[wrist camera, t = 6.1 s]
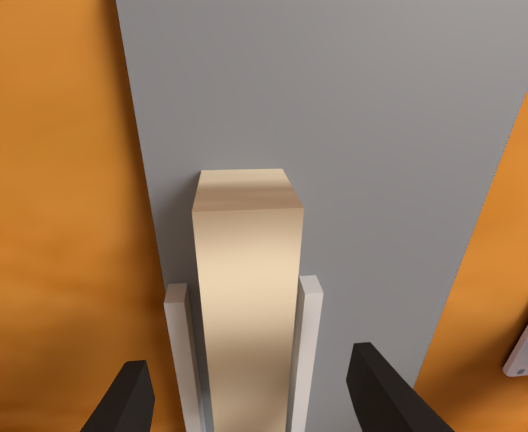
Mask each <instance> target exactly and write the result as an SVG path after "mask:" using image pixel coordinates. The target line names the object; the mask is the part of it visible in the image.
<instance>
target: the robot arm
mask: <svg viewBox="0 0 528 432" xmlns="http://www.w3.org/2000/svg"><path fill="white" fill-rule="evenodd" d="M503 372H504V373H505V374H506V375H507V376H508V377H515V376H524V375H528V325H527V327H526V329H525V330H524V332H523V334H522V336H521V337H520V339H519V341H518V343H517V344H516V346H515V348H514V350H513V351H512V353H511V355H510V357H509V358H508V360H507V362H506V364H505V365H504V367H503ZM346 383H347V387H348V390H349V394H350V398H351V401H352V404H353V408H354V411H355V414H356V417H357V419H358V422H359V424H360V427H361V429H362V432H455V431H454V430H453V429H452V428H451V427H450V426H449V425H448V424H446V423H445V422H444V421H443V420H442V419H441V418H440V417H439V416H438V415H437V414H436V413H435V412H434V411H433V410H432V409H431V408H430V407H429V406H428V405H427V403H426V402H425V401H424V400H423V399H422V398H421V397H420V396H419V395H418V394H417V393H416V392H415V391H414V390H413V389H412V388H411V387H410V386H409V385H408V383H407V382H406V381H405V380H404V379H403V378H402V377H401V376H400V375H399V374H398V372H397V371H396V370H395V369H394V368H393V367H392V366H391V365H390V363H389V362H388V361H387V360H386V359H385V358H384V357H383V356H382V354H381V353H380V352H379V351H378V350H377V349H376V348H375V346H374V345H373V344H372V343H371V342H362V343H354V344H353V349H352V354H351V358H350V363H349V368H348V372H347V377H346ZM154 402H155V396H154V392H153V387H152V383H151V379H150V375H149V371H148V366H147V362H146V360H140V361H128V362H126V363H125V364H124V365H123V367H122V368H121V370H120V372H119V373H118V375H117V377H116V378H115V380H114V381H113V383H112V385H111V386H110V388H109V389H108V391H107V392H106V394H105V395H104V397H103V398H102V400H101V401H100V403H99V404H98V406H97V408H96V409H95V410H94V412H93V413H92V415H91V416H90V418H89V419H88V421H87V422H86V423H85V425H84V426H83V428H82V429H81V431H80V432H150V428H151V422H152V416H153V409H154Z"/></svg>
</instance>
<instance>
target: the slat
mask: <svg viewBox="0 0 528 432" xmlns="http://www.w3.org/2000/svg"><path fill="white" fill-rule="evenodd" d="M303 216H304V207H303V205H302V203H301V201H300V200H299V198H298V196H297V194H296V192H295V191H294V189H293V187H292V185H291V183H290V182H289V180H288V178H287V176H286V174H285V173H284V171H283V169H240V170H201V174H200V179H199V183H198V187H197V191H196V196H195V200H194V204H193V209H192V219H193V229H194V238H195V248H196V258H197V267H198V277H199V287H200V296H201V306H202V316H203V325H204V335H205V345H206V354H207V364H208V374H209V383H210V393H211V403H212V412H213V422H214V432H285V428H286V416H287V404H288V393H289V381H290V369H291V357H292V345H293V334H294V322H295V310H296V298H297V286H298V275H299V263H300V251H301V239H302V227H303Z"/></svg>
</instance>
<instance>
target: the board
mask: <svg viewBox="0 0 528 432" xmlns="http://www.w3.org/2000/svg"><path fill="white" fill-rule="evenodd" d="M116 5H117V11H118V17H119V23H120V28H121V34H122V40H123V46H124V52H125V58H126V64H127V70H128V76H129V81H130V87H131V93H132V99H133V105H134V111H135V117H136V123H137V129H138V134H139V140H140V146H141V152H142V158H143V164H144V170H145V176H146V182H147V187H148V193H149V199H150V205H151V211H152V217H153V223H154V229H155V234H156V240H157V246H158V252H159V258H160V264H161V270H162V276H163V282H164V287H165V293H166V296H165V300H164V309H165V314H166V320H167V326H168V331H169V337H170V343H171V348H172V354H173V359H174V365H175V371H176V376H177V382H178V388H179V393H180V399H181V405H182V410H183V416H184V422H185V427H186V432H214V422H213V412H212V403H211V393H210V383H209V374H208V364H207V354H206V345H205V335H204V325H203V316H202V306H201V296H200V287H199V277H198V267H197V258H196V248H195V238H194V229H193V219H192V209H193V204H194V200H195V196H196V191H197V187H198V183H199V179H200V174H201V170H240V169H283V171H284V173H285V174H286V176H287V178H288V180H289V182H290V183H291V185H292V187H293V189H294V191H295V192H296V194H297V196H298V198H299V200H300V201H301V203H302V205H303V207H304V216H303V227H302V239H301V251H300V263H299V275H298V286H297V298H296V310H295V322H294V334H293V345H292V357H291V369H290V381H289V393H288V404H287V416H286V428H285V432H362V429H361V427H360V424H359V422H358V419H357V417H356V414H355V411H354V408H353V404H352V401H351V398H350V394H349V390H348V387H347V383H346V377H347V372H348V368H349V363H350V358H351V354H352V349H353V344H354V343H362V342H371V343H372V344H373V345H374V346H375V348H376V349H377V350H378V351H379V352H380V353H381V354H382V356H383V357H384V358H385V359H386V360H387V361H388V362H389V363H390V365H391V366H392V367H393V368H394V369H395V370H396V371H397V372H398V374H399V375H400V376H401V377H402V378H403V379H404V380H405V381H406V382H407V383H408V385H409V386H410V387H411V388H412V389H413V387H414V385H415V382H416V380H417V377H418V374H419V372H420V369H421V366H422V364H423V361H424V359H425V356H426V353H427V351H428V348H429V346H430V343H431V340H432V338H433V335H434V333H435V330H436V327H437V325H438V322H439V319H440V317H441V314H442V312H443V309H444V306H445V304H446V301H447V299H448V296H449V293H450V291H451V288H452V285H453V283H454V280H455V278H456V275H457V272H458V270H459V267H460V265H461V262H462V259H463V257H464V254H465V251H466V249H467V246H468V244H469V241H470V238H471V236H472V233H473V231H474V228H475V225H476V223H477V220H478V217H479V215H480V212H481V210H482V207H483V204H484V202H485V199H486V197H487V194H488V191H489V189H490V186H491V183H492V181H493V178H494V176H495V173H496V170H497V168H498V165H499V163H500V160H501V157H502V155H503V152H504V149H505V147H506V144H507V142H508V139H509V136H510V134H511V131H512V129H513V126H514V123H515V121H516V118H517V115H518V113H519V110H520V108H521V105H522V102H523V100H524V97H525V95H526V92H527V89H528V0H116Z"/></svg>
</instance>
